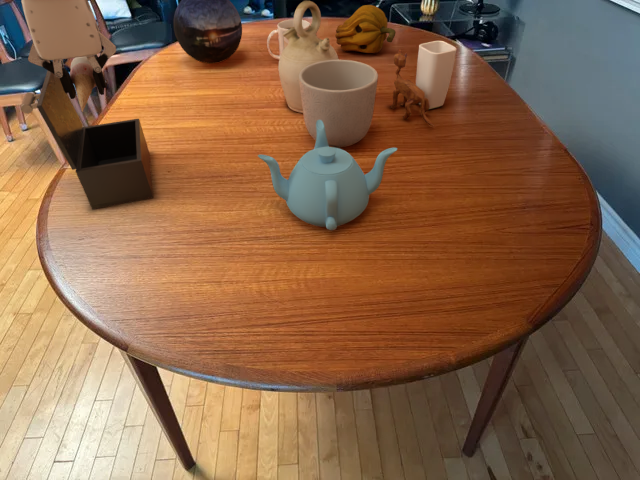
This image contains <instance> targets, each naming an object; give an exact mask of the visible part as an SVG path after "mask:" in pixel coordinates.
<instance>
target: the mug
mask: <svg viewBox="0 0 640 480" xmlns="http://www.w3.org/2000/svg"><path fill="white" fill-rule="evenodd" d="M302 26H303V29H304V30H307V29H309V28H310V26H311V22H310V21H307V20H305V19H302ZM293 27H294V18H291V19H285V20H282V21H280V22H278V23H277V25H276V29H274V30H272V31H271V32H269V34H268V35H267V39H266V48H267V51H268V54H269V55H270V56H271V58H273V59H275V60H280V56H281V54H282V52H283V50H284V48H285V47H287V45H288V44H289V41H288V39H286V38H285V37H284V36H283V33H284V32H286V31H287V30H289V29H291V28H293ZM275 35H277V41H278V42H277V43H278V52H279V53H278V54H279V55H278V54H275V53H273V51H272V50H271V48H270V43H271V39H272V38H273V37H274V36H275ZM297 35H298V36H299V37H300V35H299V34H298V33H297Z"/></svg>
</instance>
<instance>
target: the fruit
mask: <svg viewBox="0 0 640 480" xmlns="http://www.w3.org/2000/svg"><path fill="white" fill-rule="evenodd" d="M335 33H336V34H335V36H334V37H335V38H336V44H337V45H339V46H340V48H341V50H342V51H344V52H350V51H351V52H352V51H353V52H354V51H355V52H361V53H366V54H377V53H379V52H380V51H381V50H382V48H383V45H384V43H385V41H386V42H387V43H390V44H391V43H392V42H393V40H394V38H395V36H396V30H395V29H394V28H391V27H388V18H387V17H386V13H385V12H384V11H383V10H382V9H381V8H380V7H377V6H376V5H372V4H365V5H362V6H360V7H358V9H356V10H355V11H354V13H353V14H352V15H351V16H349V18H347V19H346V20H345V21H343V22H342V24H339V25H338V26H337V28H336V29H335Z"/></svg>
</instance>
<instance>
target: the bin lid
mask: <svg viewBox="0 0 640 480" xmlns="http://www.w3.org/2000/svg"><path fill="white" fill-rule="evenodd" d="M37 100H38V101H37ZM36 101H37V102H36ZM36 109H37V111H38V112H39V113H40V116H41V117H42V119H43V121H44V122H45V124H46V126H47V128H48V130H49V131H50V134H52V137H53V138H54V140H55V142H56V145H58V146H59V149H60V151H61V152H62V154H63V156H64V158H65V160H66V161H67V163H68V165H69V166H70V168H71V171H75V170H76V169H77V163H78V155H79V148H80V140H81V133H82V127H83V122H82V120H81V119H80V116H79V115H78V112H77V111H76V109H75V107H74V105H73V102H72V101H71V98H70V96H69V94H68V93H65V92H64V89H63V87H62V84H61V82H60V79H59V78H58V77H56V76H55V74H53V73H52V72H50V71H48V70H46V74H45V77H44V80H43V84H42V87H41V91H40V93H36V94H34V93H33V92H26V93H25V94H24V96H23V99H22V102H21V104H20V111H21V112H22V113H23V114H27V115H29V114H32V113H33V111H34V110H36Z"/></svg>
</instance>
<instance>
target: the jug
mask: <svg viewBox="0 0 640 480" xmlns="http://www.w3.org/2000/svg"><path fill="white" fill-rule="evenodd" d="M308 9H309V10H310V12H311V17H312V18H311V23H310V28H309V29H307V30H304V29H303V26H302V20H303V17H304V15H305V12H306V11H307V10H308ZM293 19H294V27H293V28H291V29H289V30H287V31H286V32H284V33H283V36H284V37H285V38H286V39H288V41H289V44H288V45H287V47H285V48H284V50H283V52H282V54H281V56H280V59H278V66H277V67H278V68H277V69H278V76H279V77H278V78H279V81H280V86H281V88H282V93H283V95H284V98H285V101H286V104H287V106H288V108H289V109H290V110H292V111H293V112H296V113H299V114H303V107H302V99H301V91H300V83H299V74H300V72H301V70H302V69H304V68H305V67H307V66H308V65H311V64H313V63H316V62H320V61H326V60H340V59H339V55H338V54H337V52H336V51H337V50H336V49H335V48H334V47H333V45H331V44H330V42H331V41H330V39H329V37H325V38H323V39H322V38H320V37H318V35H317V33H318V32H319V29H320V28H321V22H322V14H321V10H320V8H319V6H318V5H317V4H316V3H315V2H314V1H311V0H303V1H302V2H300V3H299V4H298V5H297V6H296V9H295V11H294V14H293ZM297 33H298V34H299V35H300V37H299V36H298V35H297Z"/></svg>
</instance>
